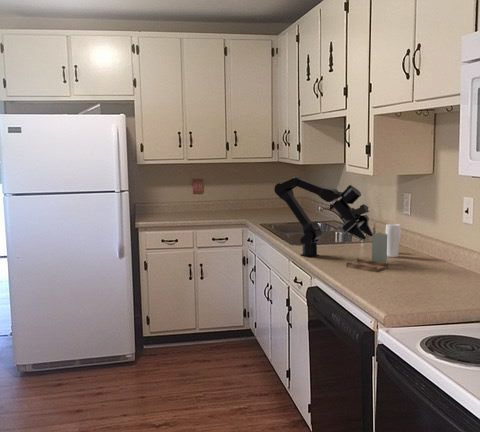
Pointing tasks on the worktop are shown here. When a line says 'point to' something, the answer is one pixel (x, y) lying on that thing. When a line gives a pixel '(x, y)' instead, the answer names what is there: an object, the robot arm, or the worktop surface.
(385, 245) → the block
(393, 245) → the white cylinder
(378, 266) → the walnut trough
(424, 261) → the worktop surface
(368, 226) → the robot arm
